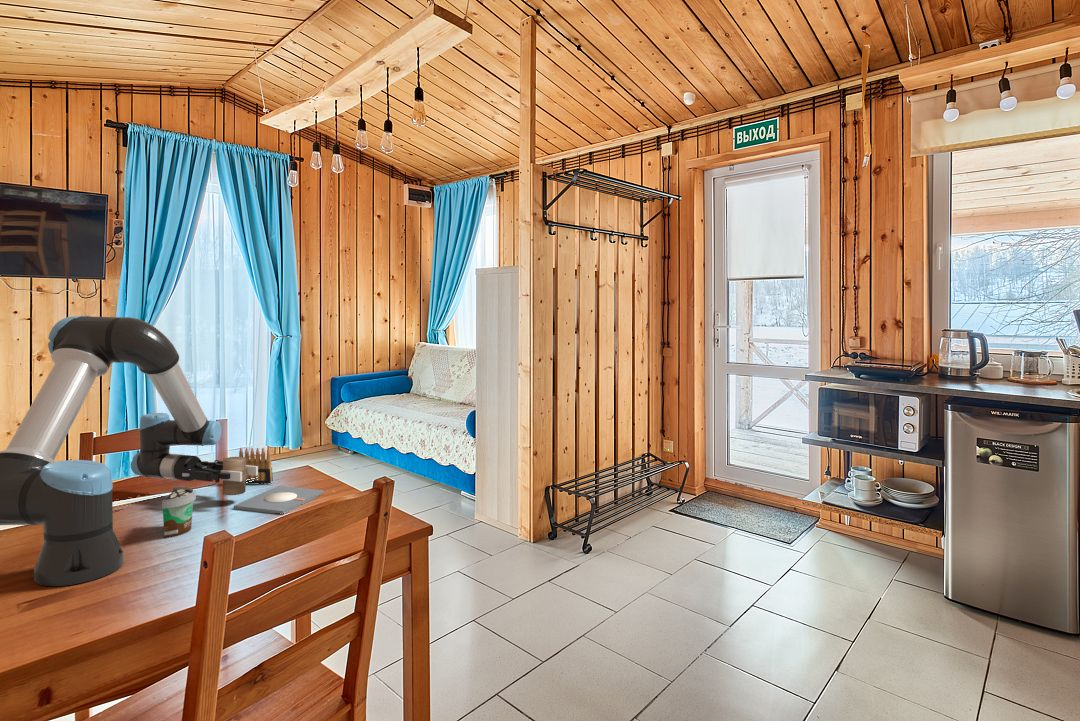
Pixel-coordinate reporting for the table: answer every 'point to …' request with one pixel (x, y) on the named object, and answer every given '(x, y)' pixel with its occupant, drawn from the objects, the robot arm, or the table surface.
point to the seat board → (278, 499)
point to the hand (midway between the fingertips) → (249, 473)
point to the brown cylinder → (234, 465)
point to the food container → (178, 511)
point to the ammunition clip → (259, 465)
